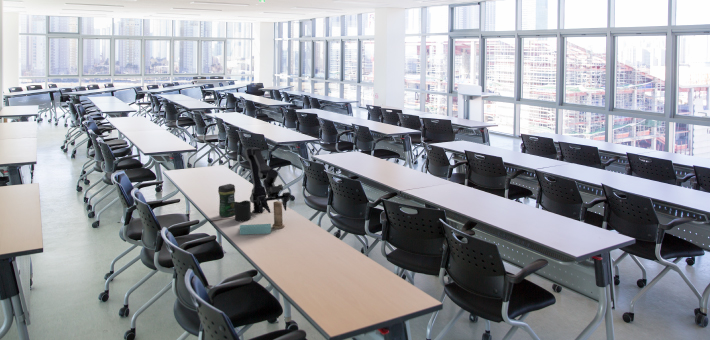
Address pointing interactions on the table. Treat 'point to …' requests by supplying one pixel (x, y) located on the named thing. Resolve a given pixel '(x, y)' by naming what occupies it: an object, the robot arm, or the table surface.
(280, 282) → the table surface
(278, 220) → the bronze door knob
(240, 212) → the pen holder
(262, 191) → the robot arm
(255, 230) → the notched board
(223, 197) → the coffee jar
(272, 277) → the table surface
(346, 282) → the table surface
